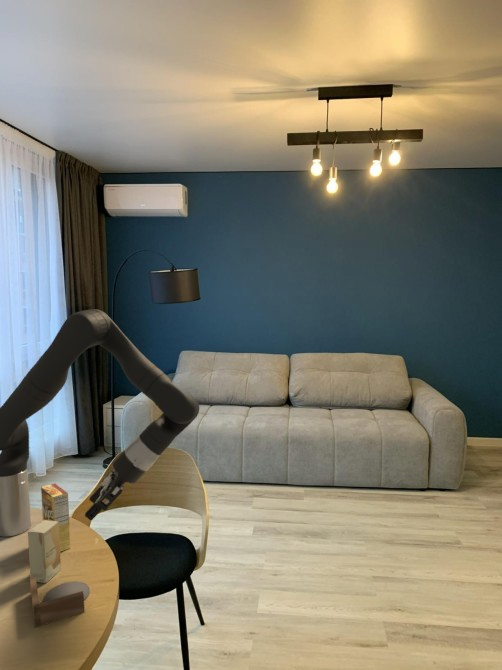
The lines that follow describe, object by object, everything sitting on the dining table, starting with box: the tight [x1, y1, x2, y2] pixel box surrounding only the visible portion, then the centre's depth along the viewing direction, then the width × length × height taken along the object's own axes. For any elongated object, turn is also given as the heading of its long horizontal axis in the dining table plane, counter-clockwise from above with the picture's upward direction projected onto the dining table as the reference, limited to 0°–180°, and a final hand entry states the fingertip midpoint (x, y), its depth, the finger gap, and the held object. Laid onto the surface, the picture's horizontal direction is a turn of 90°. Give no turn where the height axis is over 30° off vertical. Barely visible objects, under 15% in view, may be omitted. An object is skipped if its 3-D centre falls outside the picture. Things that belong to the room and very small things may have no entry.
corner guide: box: [29, 576, 85, 628], centre depth 106 cm, size 12×10×4 cm
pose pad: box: [43, 580, 91, 602], centre depth 108 cm, size 10×10×1 cm
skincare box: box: [27, 519, 62, 584], centre depth 116 cm, size 6×4×12 cm
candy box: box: [40, 483, 71, 553], centre depth 129 cm, size 9×4×15 cm, turn 43°
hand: (90, 509), depth 117 cm, fingers open, 8 cm apart
